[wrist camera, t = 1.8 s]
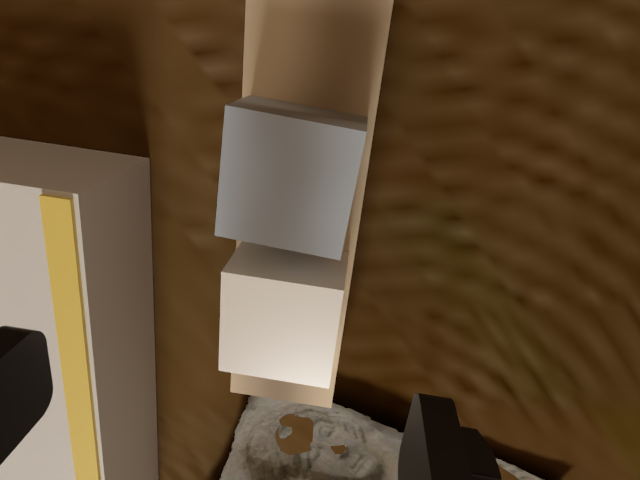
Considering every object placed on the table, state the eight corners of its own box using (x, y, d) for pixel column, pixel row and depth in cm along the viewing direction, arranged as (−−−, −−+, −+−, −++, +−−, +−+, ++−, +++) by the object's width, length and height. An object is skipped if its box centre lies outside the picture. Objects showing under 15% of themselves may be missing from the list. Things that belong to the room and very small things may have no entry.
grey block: (367, 116, 17) (366, 131, 14) (345, 226, 19) (340, 260, 16) (250, 94, 17) (225, 105, 14) (239, 205, 19) (214, 235, 16)
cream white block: (348, 252, 19) (344, 290, 16) (335, 340, 21) (329, 388, 18) (244, 237, 19) (221, 271, 16) (240, 325, 21) (218, 370, 18)
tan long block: (390, 2, 19) (395, -10, 15) (337, 351, 26) (331, 408, 22) (273, -11, 20) (246, -27, 15) (252, 338, 27) (230, 391, 23)
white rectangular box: (149, 158, 23) (74, 195, 17) (159, 495, 32) (113, 592, 26) (-82, 124, 23) (-230, 149, 17) (-6, 465, 33) (-85, 553, 27)
